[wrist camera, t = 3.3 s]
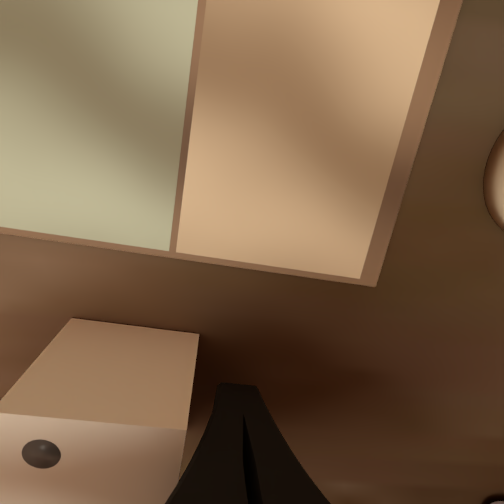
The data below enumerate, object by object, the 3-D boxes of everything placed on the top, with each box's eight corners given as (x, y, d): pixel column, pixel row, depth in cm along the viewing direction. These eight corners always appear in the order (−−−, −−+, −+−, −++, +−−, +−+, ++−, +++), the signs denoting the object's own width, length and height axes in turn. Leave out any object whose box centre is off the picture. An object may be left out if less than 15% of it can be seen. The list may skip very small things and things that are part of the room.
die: (183, 431, 13) (165, 556, 9) (67, 420, 12) (-5, 549, 8) (199, 334, 12) (187, 430, 8) (71, 317, 11) (-10, 412, 7)
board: (374, 285, 11) (375, 287, 11) (-316, 187, 9) (-323, 187, 9) (473, -42, 9) (476, -44, 9) (-457, -298, 7) (-467, -305, 6)
